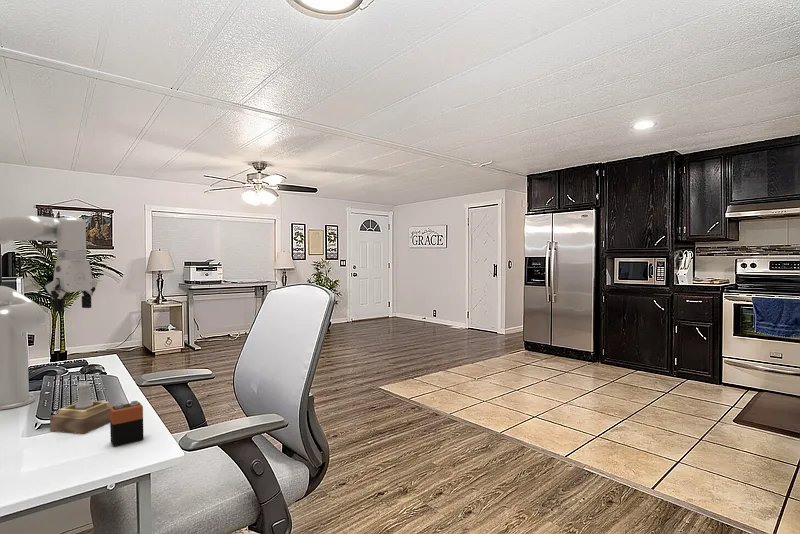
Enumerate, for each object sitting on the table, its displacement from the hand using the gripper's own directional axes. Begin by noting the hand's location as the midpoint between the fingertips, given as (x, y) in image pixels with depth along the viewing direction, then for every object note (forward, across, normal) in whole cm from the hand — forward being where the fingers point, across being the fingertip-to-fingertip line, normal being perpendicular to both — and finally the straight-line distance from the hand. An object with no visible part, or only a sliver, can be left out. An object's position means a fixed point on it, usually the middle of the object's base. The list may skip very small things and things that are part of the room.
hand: (73, 309), depth 146 cm
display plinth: (+30, -15, -20) cm, 39 cm away
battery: (+31, -22, -40) cm, 55 cm away
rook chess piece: (+26, -15, -19) cm, 36 cm away
